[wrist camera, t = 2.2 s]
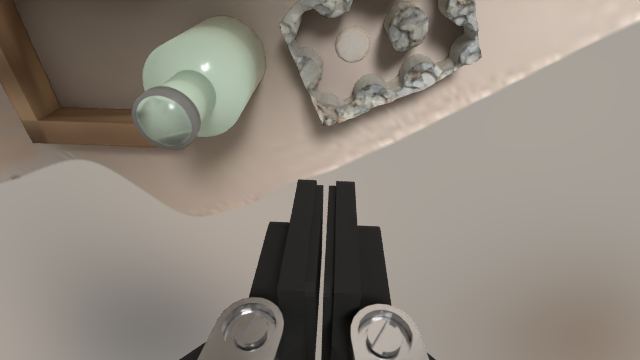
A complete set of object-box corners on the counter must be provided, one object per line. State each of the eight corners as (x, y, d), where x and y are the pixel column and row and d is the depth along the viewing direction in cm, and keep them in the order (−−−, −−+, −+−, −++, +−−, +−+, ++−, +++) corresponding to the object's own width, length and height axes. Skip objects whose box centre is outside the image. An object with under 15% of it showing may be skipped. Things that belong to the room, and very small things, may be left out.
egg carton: (320, 108, 25) (316, 133, 22) (278, 2, 21) (266, 13, 18) (469, 58, 23) (491, 79, 19) (453, -73, 19) (478, -77, 15)
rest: (-30, -49, 20) (-70, -49, 18) (145, -46, 20) (124, -45, 18) (55, 128, 27) (32, 142, 25) (187, 132, 26) (175, 147, 24)
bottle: (181, 15, 22) (83, 60, 13) (261, 16, 21) (212, 63, 13) (197, 93, 25) (126, 169, 16) (268, 95, 24) (231, 173, 16)
